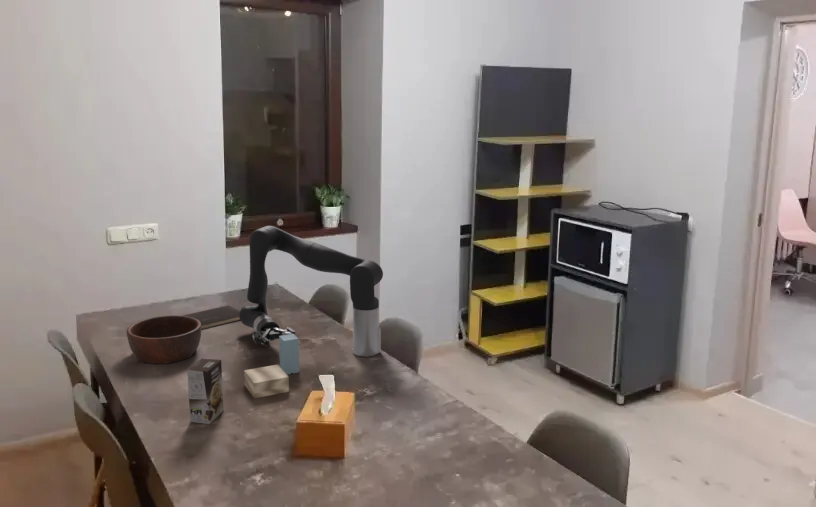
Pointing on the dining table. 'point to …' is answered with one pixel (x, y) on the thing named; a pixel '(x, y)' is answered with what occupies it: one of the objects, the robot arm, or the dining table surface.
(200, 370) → the coffee box
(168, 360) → the wooden bowl
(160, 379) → the dining table surface
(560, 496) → the dining table surface
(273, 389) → the birch block
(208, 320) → the hardcover book
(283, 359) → the blue pillar
